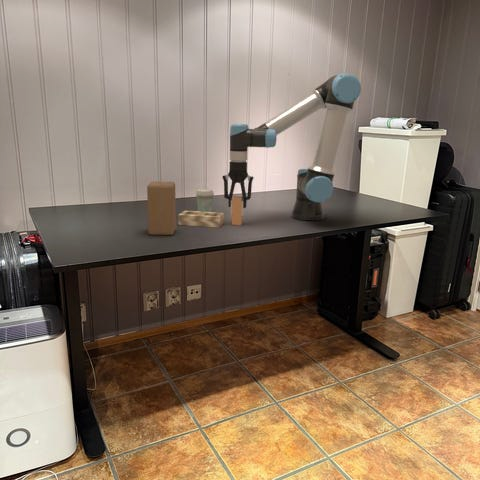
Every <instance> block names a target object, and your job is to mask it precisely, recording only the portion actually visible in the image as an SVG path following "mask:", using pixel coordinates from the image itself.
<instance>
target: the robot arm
mask: <svg viewBox="0 0 480 480" xmlns="http://www.w3.org/2000/svg"><path fill="white" fill-rule="evenodd" d="M361 91H362V85H361V82H360V80H359V78H358V77H357V76H355V75H354V74H352V73H347V72H342V73H339V74H336V75H332V76H331V77H330V78H328V79H326V80H325V81H324V82H323V83H322V84H320V85H319V86H317V87H316V88H314V89H313V90H312V93H310V94H309V95H307V96H306V97H304V98H302V99H301V100H299V101H298V102H296V103H294V104H292V105H291V106H289V107H288V108H286V109H285V110H283V111H282V112H280V113H278V114H277V115H275V116H273V117H272V118H270V119H269V120H267V121H265V122H264V123H263V124H261V125H259V126H257V127H255V128H249V124H247V123H232V124H231V125H230V130H229V132H230V133H229V160H230V161H229V171H228V174H224V175H222V180H223V196H224V199H227V200H228V208H230V216H232V197H233V196H234V191H235V188H236V184H239V185H240V188H241V189H240V191H241V194H242V197H243V200H242V203H241V216H242V217H243V216H244V214H245V209H246V208H247V202H248V201H249V200H250V199H251V198H252V187H253V180H254V179H255V177H254V176H253V175H252V176H251V175H250V174H249V173H248V162H247V160H248V149H249V148H267V149H268V148H275V146H276V145H277V140H278V139H277V136H278V135H279V134H281V133H283V132H285V131H286V130H288V129H289V128H291V127H293V126H294V125H296V124H297V123H299V122H302V120H304V119H306V118H308V117H309V116H311V115H312V114H314V113H316V112H318V111H319V110H321V109H322V110H325V109H326V113H325V116H324V120H323V125H322V129H321V132H320V135H319V140H318V144H317V147H316V150H315V155H314V160H313V163H312V165H310V166H309V167H308V168H300V169H298V171H297V175H296V177H297V179H296V182H297V183H296V196H295V197H296V198H295V202H294V206H293V208H292V211H291V218H292V219H295V220H298V219H299V220H300V221H306V220H312V221H313V220H316V221H321V220H323V219H324V218H325V217H324V216H325V215H324V209H323V206H322V203H323V202H326V201H328V200H329V199H330V198H331V197H332V195H333V193H334V183H333V181H334V177H335V172H334V170H333V167H334V164H335V160H336V156H337V153H338V151H339V150H338V149H339V145H340V141H341V138H342V134H343V131H344V128H345V123H346V119H347V116H348V114H349V113H350V112H352V111H353V109H354V104H355V101H357V99H358V98H359V97H360V94H361ZM229 179H230V181H231V185H230V191H229V182H228V181H229ZM245 180H247V181H248V184H247V192H246V187H245ZM312 221H311V222H312ZM313 222H314V221H313Z"/></svg>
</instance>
